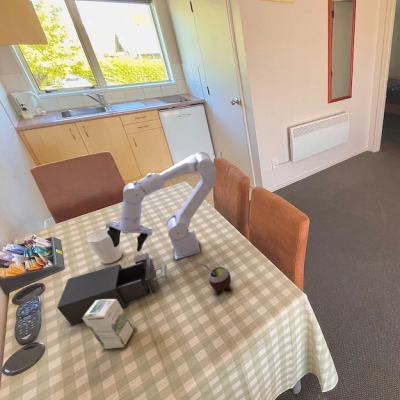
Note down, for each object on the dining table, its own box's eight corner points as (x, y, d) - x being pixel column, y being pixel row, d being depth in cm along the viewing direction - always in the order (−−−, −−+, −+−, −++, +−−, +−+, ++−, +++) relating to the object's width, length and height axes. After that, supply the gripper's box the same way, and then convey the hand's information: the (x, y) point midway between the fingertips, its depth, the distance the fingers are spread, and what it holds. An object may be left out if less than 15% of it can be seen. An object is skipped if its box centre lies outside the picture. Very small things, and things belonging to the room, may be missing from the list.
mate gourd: (236, 283, 96) (228, 252, 89) (223, 300, 90) (213, 268, 82) (219, 278, 98) (210, 247, 91) (205, 294, 92) (194, 263, 84)
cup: (112, 267, 104) (98, 243, 98) (93, 264, 106) (78, 240, 100) (130, 252, 112) (119, 229, 106) (112, 249, 114) (100, 226, 107)
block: (150, 260, 107) (147, 252, 105) (150, 266, 104) (146, 258, 102) (139, 263, 106) (135, 256, 104) (138, 270, 103) (134, 262, 101)
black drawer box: (129, 280, 98) (119, 263, 94) (125, 306, 89) (115, 288, 84) (80, 296, 93) (68, 278, 88) (71, 325, 83) (56, 307, 78)
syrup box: (115, 331, 81) (94, 299, 74) (135, 329, 81) (116, 297, 74) (104, 349, 76) (79, 317, 69) (125, 347, 76) (103, 315, 69)
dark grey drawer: (168, 267, 103) (163, 254, 99) (169, 288, 94) (163, 274, 90) (114, 284, 96) (106, 271, 92) (109, 308, 87) (100, 294, 83)
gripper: (101, 216, 90) (99, 249, 94) (148, 225, 93) (144, 257, 97) (113, 207, 96) (110, 239, 100) (156, 216, 100) (152, 247, 104)
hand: (128, 247), depth 99 cm, fingers open, 7 cm apart
